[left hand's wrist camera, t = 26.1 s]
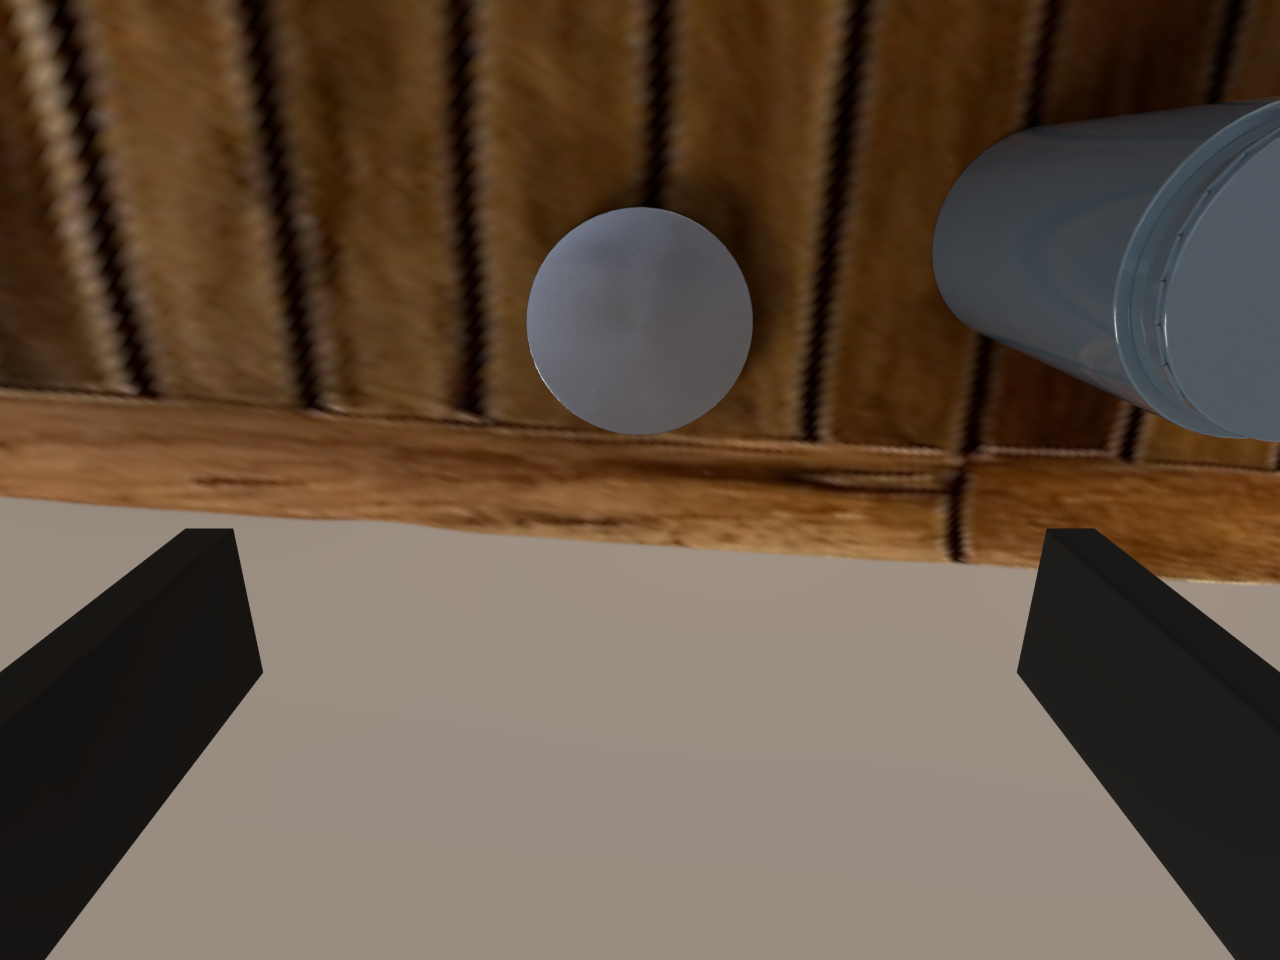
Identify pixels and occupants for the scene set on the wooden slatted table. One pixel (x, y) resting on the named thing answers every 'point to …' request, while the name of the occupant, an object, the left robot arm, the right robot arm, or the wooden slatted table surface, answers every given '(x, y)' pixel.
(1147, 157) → the jar
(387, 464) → the wooden slatted table surface
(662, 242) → the lid
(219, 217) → the wooden slatted table surface
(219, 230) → the wooden slatted table surface
